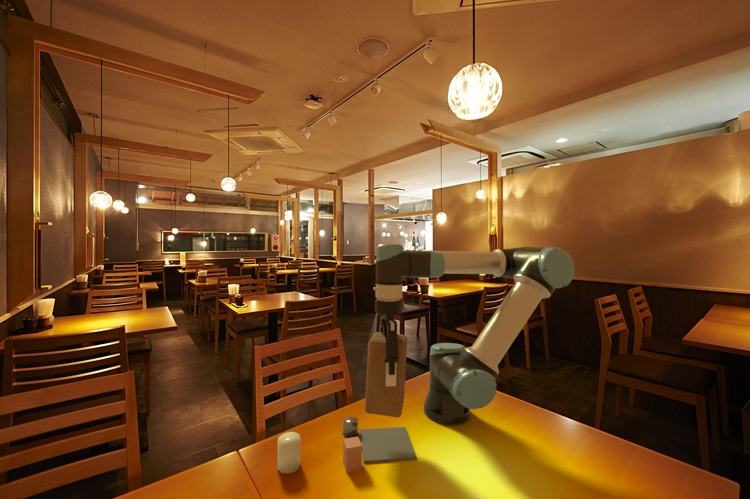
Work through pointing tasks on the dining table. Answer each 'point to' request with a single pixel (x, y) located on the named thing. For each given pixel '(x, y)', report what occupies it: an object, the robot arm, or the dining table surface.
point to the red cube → (352, 454)
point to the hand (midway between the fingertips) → (387, 376)
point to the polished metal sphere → (350, 427)
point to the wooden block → (384, 378)
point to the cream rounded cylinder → (288, 452)
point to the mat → (386, 445)
